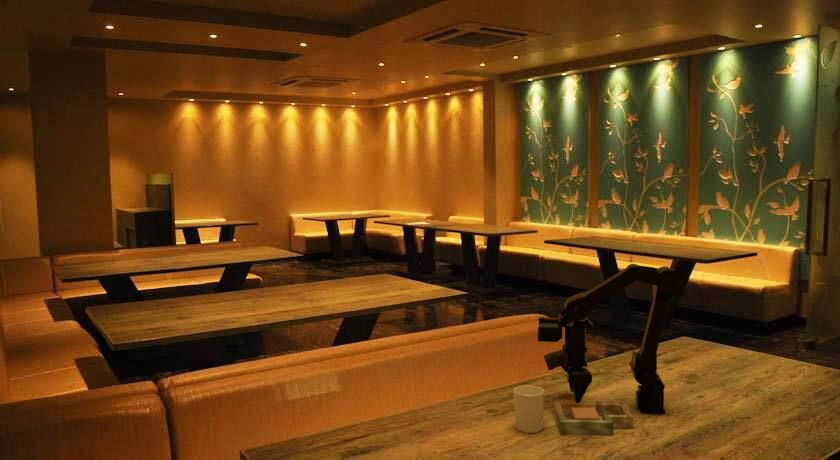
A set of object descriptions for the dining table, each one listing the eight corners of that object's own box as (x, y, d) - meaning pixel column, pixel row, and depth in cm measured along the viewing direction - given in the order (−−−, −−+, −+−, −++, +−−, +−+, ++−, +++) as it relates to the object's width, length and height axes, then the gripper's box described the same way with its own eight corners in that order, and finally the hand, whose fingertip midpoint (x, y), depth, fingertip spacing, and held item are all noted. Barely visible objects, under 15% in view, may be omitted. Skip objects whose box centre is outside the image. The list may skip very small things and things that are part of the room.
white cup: (544, 435, 167) (544, 396, 166) (512, 433, 168) (512, 394, 167) (544, 423, 174) (544, 386, 173) (514, 421, 176) (514, 384, 175)
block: (594, 422, 175) (594, 407, 174) (599, 433, 168) (599, 417, 167) (571, 422, 175) (571, 407, 175) (575, 432, 168) (575, 417, 168)
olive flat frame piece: (623, 411, 181) (623, 400, 181) (636, 435, 165) (637, 422, 165) (553, 411, 183) (553, 399, 182) (560, 434, 167) (560, 421, 167)
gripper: (542, 333, 194) (542, 386, 195) (549, 351, 175) (549, 409, 177) (581, 333, 193) (580, 386, 195) (592, 352, 175) (592, 409, 176)
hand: (575, 397), depth 186 cm, fingers open, 9 cm apart
